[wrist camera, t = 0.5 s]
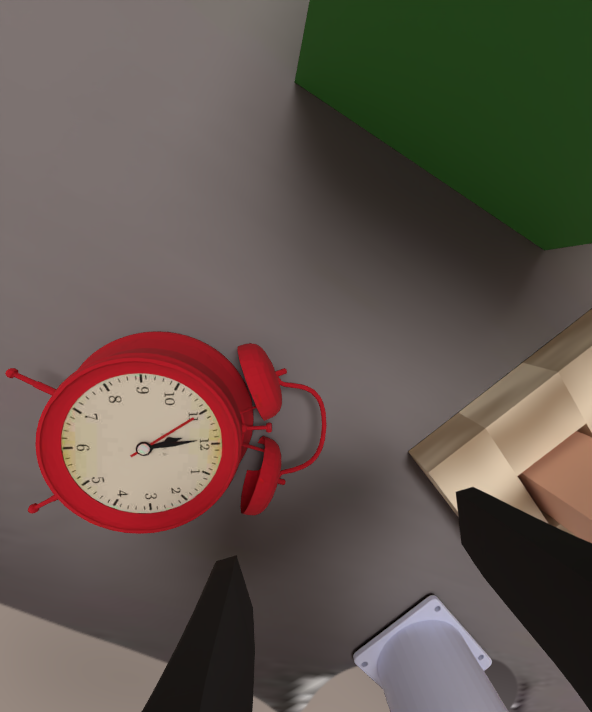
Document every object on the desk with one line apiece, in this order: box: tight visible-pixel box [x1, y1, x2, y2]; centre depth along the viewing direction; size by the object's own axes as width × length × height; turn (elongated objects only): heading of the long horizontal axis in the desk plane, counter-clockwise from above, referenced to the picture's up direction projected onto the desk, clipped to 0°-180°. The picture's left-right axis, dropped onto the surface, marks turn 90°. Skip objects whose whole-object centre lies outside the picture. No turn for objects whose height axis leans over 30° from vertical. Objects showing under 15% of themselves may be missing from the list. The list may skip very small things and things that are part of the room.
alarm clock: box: [5, 332, 326, 534], centre depth 16 cm, size 10×6×15 cm
